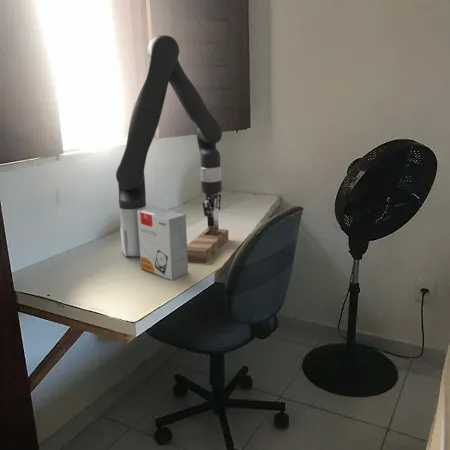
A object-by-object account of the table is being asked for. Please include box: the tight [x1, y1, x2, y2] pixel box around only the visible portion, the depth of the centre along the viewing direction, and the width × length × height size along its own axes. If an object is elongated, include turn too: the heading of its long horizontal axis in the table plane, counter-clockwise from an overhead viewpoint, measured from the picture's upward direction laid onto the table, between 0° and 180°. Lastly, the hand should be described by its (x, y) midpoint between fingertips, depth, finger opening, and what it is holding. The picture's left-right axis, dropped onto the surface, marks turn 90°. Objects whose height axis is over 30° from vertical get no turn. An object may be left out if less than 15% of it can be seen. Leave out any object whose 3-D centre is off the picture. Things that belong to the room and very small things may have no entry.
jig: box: [187, 227, 229, 263], centre depth 184 cm, size 25×8×4 cm, turn 162°
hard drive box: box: [137, 206, 189, 281], centre depth 162 cm, size 16×8×20 cm, turn 47°
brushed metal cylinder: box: [207, 207, 220, 231], centre depth 188 cm, size 4×4×8 cm
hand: (213, 224), depth 188 cm, fingers closed on brushed metal cylinder, 4 cm apart
